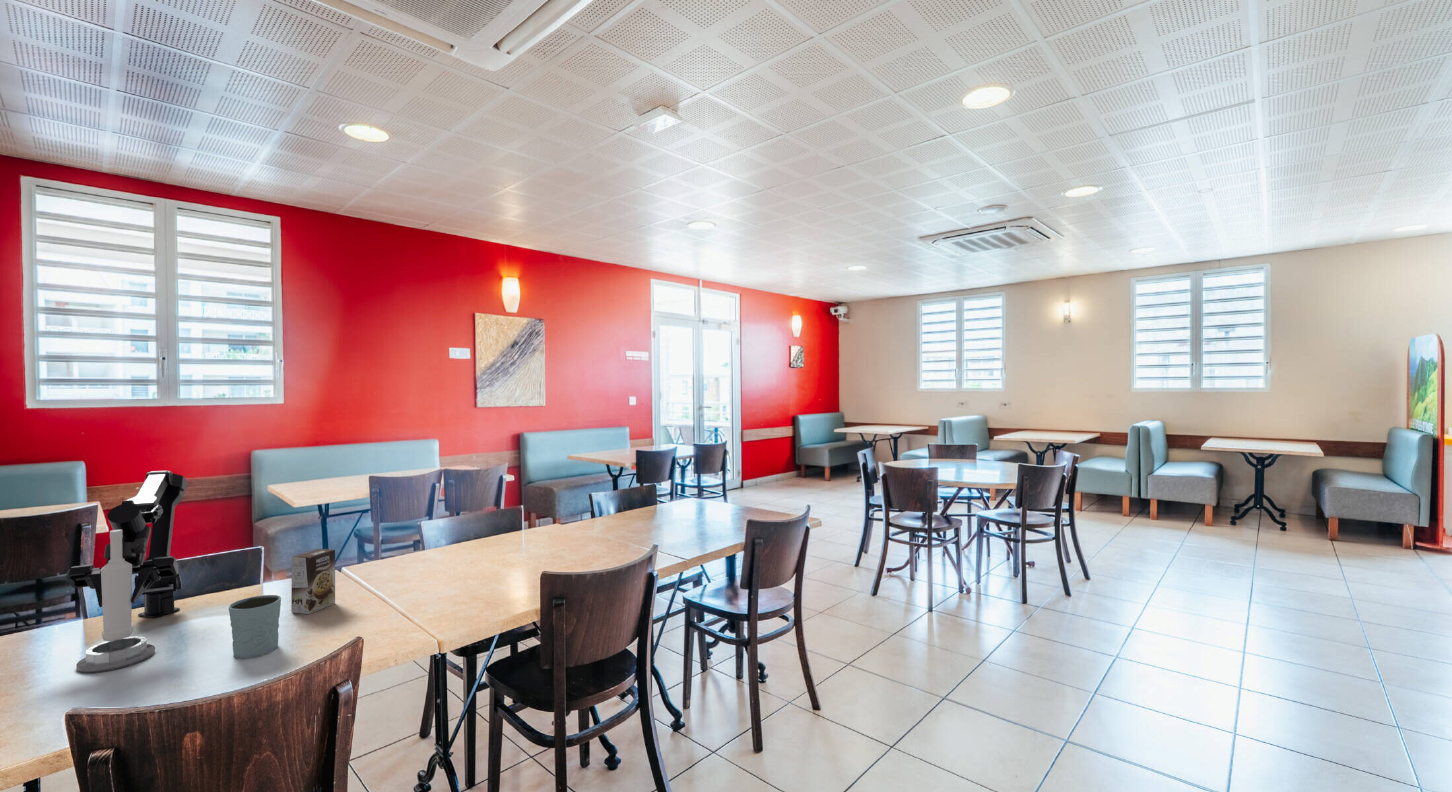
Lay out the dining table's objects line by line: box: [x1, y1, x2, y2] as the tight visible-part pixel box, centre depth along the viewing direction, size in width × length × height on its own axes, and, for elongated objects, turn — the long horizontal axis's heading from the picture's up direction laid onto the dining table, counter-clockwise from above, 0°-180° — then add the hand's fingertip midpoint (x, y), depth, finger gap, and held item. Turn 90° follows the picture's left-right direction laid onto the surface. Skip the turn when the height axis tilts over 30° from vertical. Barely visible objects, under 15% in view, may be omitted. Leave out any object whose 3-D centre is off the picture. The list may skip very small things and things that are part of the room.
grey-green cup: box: [228, 594, 282, 659], centre depth 148 cm, size 10×10×12 cm
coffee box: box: [290, 548, 336, 615], centre depth 176 cm, size 9×6×16 cm
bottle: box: [101, 529, 134, 642], centre depth 142 cm, size 5×5×25 cm
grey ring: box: [75, 635, 156, 674], centre depth 142 cm, size 13×13×4 cm
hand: (116, 604), depth 142 cm, fingers closed on bottle, 5 cm apart
